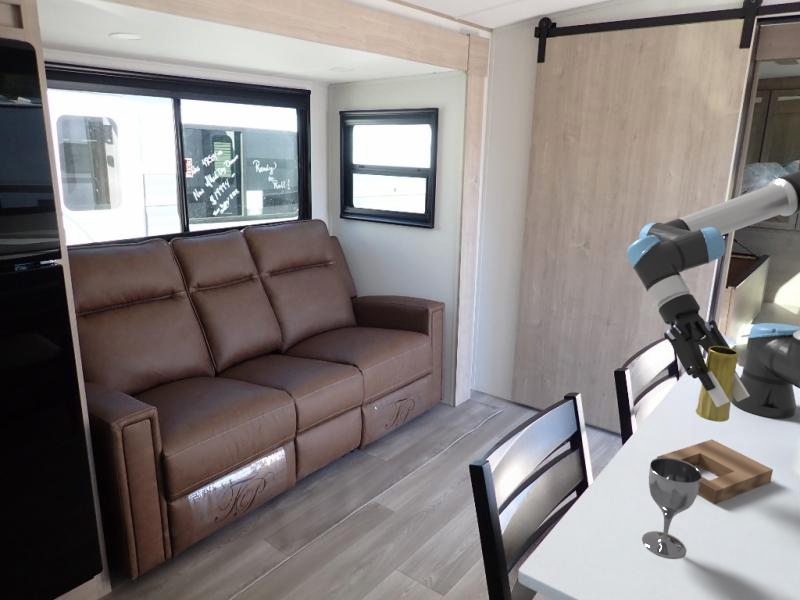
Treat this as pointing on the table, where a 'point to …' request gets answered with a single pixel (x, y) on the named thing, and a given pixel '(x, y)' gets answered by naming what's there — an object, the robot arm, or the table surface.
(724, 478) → the frame
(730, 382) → the vase
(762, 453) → the table surface
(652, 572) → the table surface
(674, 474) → the wine glass
